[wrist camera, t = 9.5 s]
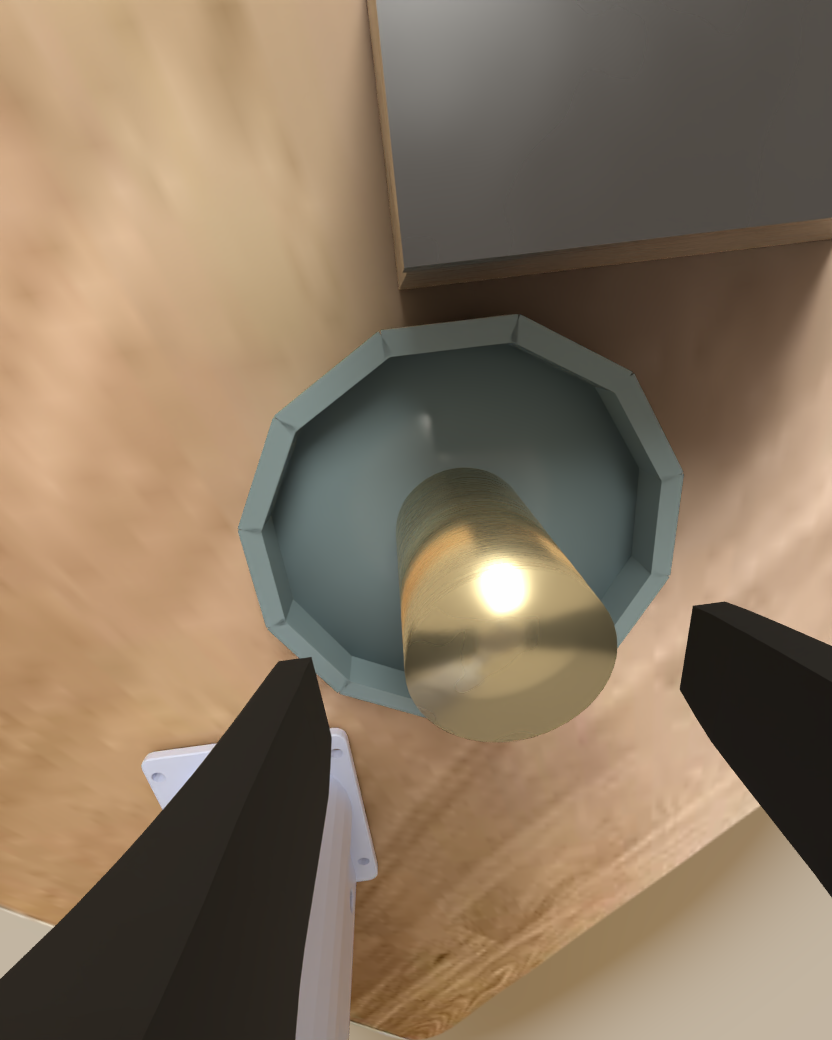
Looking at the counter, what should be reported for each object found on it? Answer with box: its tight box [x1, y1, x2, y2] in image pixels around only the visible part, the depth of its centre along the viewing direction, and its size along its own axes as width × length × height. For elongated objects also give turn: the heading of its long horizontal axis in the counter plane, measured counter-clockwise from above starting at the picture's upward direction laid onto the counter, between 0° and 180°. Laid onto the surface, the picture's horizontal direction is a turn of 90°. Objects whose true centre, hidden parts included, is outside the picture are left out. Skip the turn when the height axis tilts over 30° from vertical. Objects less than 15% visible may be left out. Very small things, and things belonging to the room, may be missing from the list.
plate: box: [238, 314, 684, 718], centre depth 14 cm, size 12×12×2 cm
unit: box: [367, 0, 832, 290], centre depth 8 cm, size 6×12×8 cm, turn 96°
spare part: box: [396, 468, 617, 742], centre depth 11 cm, size 4×4×6 cm
